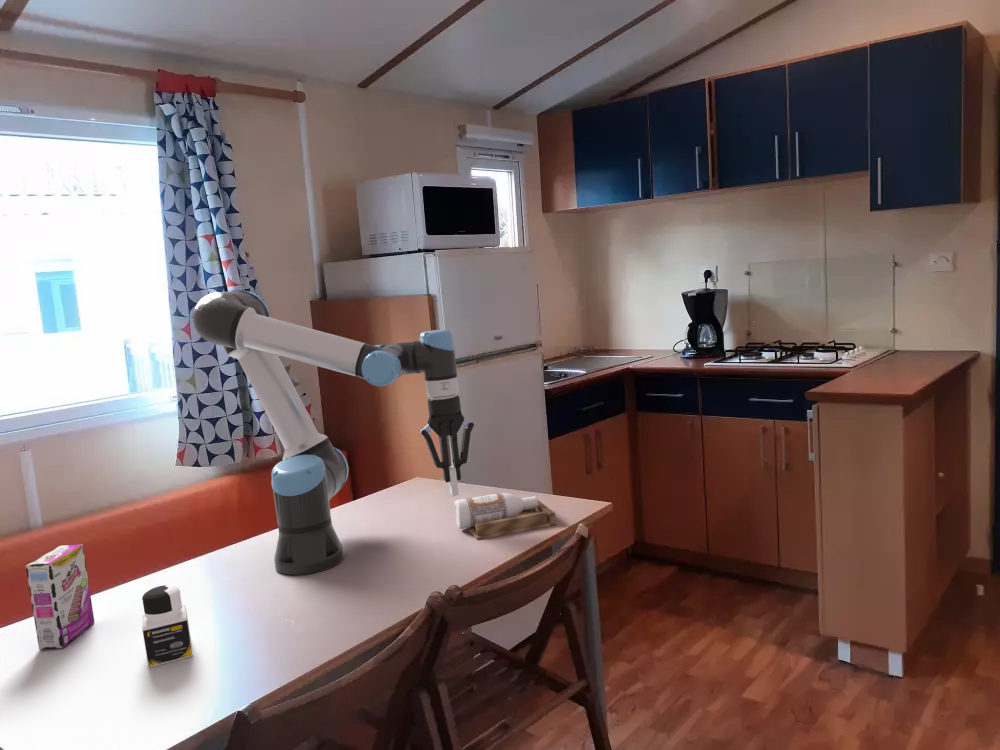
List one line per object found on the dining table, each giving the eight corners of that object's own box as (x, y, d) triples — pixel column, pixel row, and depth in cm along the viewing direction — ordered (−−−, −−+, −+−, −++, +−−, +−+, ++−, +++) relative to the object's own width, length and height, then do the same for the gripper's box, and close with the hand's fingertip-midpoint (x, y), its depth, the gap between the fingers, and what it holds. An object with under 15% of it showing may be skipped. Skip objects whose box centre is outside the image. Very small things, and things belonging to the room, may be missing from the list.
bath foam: (452, 496, 193) (531, 483, 198) (454, 522, 195) (532, 509, 200) (458, 507, 186) (540, 493, 191) (460, 534, 188) (541, 520, 193)
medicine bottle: (148, 668, 135) (137, 601, 134) (148, 651, 142) (138, 587, 140) (193, 657, 138) (182, 591, 136) (191, 640, 145) (181, 578, 143)
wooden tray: (476, 540, 184) (475, 527, 183) (462, 523, 197) (461, 510, 197) (555, 525, 189) (554, 512, 189) (536, 509, 203) (535, 497, 202)
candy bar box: (64, 649, 146) (49, 563, 144) (38, 651, 146) (23, 566, 144) (97, 622, 157) (83, 542, 155) (72, 624, 157) (58, 544, 155)
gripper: (418, 402, 180) (430, 503, 183) (474, 394, 183) (484, 493, 187) (412, 398, 187) (424, 495, 190) (466, 390, 191) (476, 485, 194)
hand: (454, 494), depth 188 cm, fingers closed
